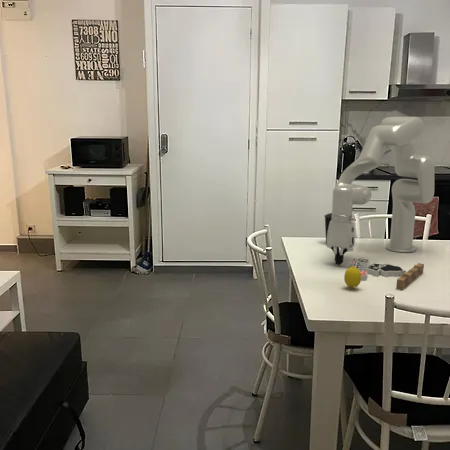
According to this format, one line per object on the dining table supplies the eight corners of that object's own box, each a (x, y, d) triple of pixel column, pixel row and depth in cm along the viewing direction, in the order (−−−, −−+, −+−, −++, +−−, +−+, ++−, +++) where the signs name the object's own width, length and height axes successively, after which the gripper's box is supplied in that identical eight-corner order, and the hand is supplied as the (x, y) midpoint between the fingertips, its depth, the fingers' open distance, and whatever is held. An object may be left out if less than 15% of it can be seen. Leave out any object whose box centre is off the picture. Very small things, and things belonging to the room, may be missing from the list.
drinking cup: (341, 246, 211) (343, 203, 206) (324, 246, 211) (326, 203, 207) (337, 242, 218) (340, 200, 214) (321, 242, 218) (323, 200, 214)
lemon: (357, 292, 153) (359, 269, 152) (341, 289, 156) (342, 267, 154) (362, 287, 158) (363, 265, 156) (346, 284, 161) (347, 262, 159)
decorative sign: (352, 257, 186) (405, 262, 180) (352, 263, 187) (404, 268, 180) (347, 273, 166) (406, 280, 160) (347, 280, 167) (406, 286, 160)
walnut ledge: (417, 271, 175) (418, 261, 174) (423, 273, 174) (424, 262, 173) (396, 289, 156) (397, 277, 156) (402, 290, 155) (403, 278, 154)
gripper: (363, 219, 176) (360, 265, 180) (327, 214, 185) (325, 258, 189) (356, 222, 170) (353, 269, 174) (319, 217, 179) (317, 262, 183)
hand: (338, 263), depth 182 cm, fingers closed
